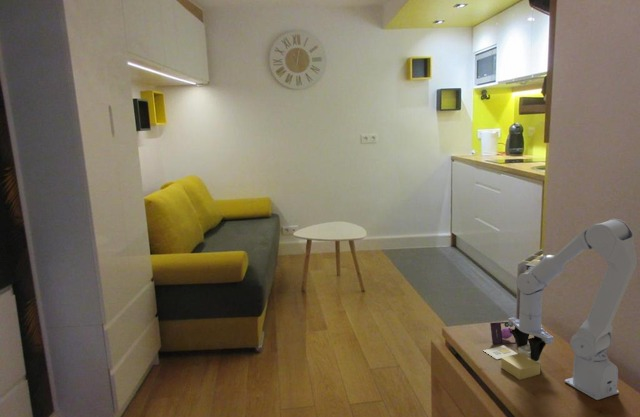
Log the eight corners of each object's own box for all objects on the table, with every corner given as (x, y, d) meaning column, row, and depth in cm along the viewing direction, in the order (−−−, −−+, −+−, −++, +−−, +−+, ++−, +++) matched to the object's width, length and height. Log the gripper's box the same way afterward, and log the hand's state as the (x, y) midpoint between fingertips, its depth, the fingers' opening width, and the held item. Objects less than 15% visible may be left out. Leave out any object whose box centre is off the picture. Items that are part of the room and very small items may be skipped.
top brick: (539, 363, 129) (539, 347, 129) (528, 366, 128) (529, 350, 127) (528, 357, 133) (529, 341, 132) (517, 359, 132) (518, 344, 131)
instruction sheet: (518, 354, 135) (518, 353, 135) (496, 359, 132) (496, 358, 132) (503, 345, 140) (503, 344, 140) (482, 351, 138) (482, 350, 138)
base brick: (539, 374, 124) (540, 364, 123) (520, 379, 121) (520, 369, 121) (520, 362, 130) (520, 352, 130) (501, 367, 128) (501, 357, 127)
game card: (491, 323, 142) (519, 321, 142) (485, 321, 147) (512, 320, 147) (494, 345, 141) (522, 343, 141) (487, 343, 146) (514, 341, 146)
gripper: (562, 319, 123) (560, 365, 125) (521, 301, 136) (520, 343, 138) (542, 324, 120) (540, 371, 123) (503, 305, 134) (502, 348, 136)
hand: (528, 356), depth 130 cm, fingers closed on top brick, 4 cm apart
